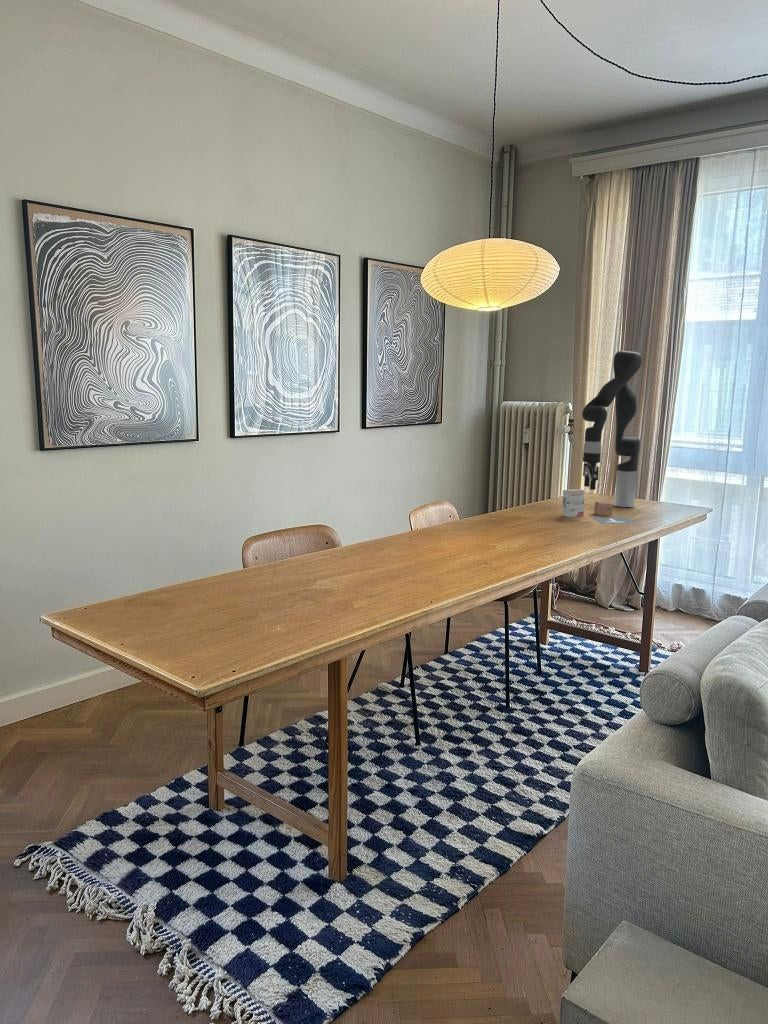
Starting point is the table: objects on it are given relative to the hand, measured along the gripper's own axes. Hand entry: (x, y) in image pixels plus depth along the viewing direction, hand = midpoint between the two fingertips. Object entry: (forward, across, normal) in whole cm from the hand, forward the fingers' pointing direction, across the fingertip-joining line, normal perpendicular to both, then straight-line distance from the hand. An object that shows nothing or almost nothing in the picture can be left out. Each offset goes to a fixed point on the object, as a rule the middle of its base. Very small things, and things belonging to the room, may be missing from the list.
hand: (589, 488), depth 340 cm
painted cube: (+13, -2, +8) cm, 15 cm away
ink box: (+13, +2, -8) cm, 15 cm away
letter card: (+12, +12, +8) cm, 19 cm away
